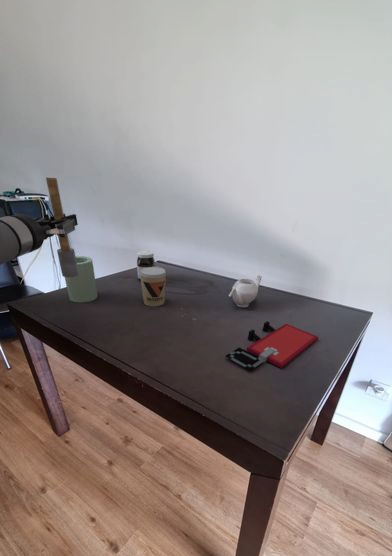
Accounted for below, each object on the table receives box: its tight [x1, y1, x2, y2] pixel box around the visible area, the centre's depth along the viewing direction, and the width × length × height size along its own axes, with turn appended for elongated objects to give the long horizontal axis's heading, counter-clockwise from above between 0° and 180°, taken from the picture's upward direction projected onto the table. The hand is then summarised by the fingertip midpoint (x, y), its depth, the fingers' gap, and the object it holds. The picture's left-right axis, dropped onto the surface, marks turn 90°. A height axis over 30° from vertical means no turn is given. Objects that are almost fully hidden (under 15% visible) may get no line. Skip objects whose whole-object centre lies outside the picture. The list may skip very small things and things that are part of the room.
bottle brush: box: [45, 176, 79, 278], centre depth 75 cm, size 4×4×24 cm
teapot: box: [228, 275, 262, 308], centre depth 106 cm, size 10×20×9 cm, turn 138°
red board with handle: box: [225, 320, 319, 371], centre depth 82 cm, size 30×3×15 cm
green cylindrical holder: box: [64, 255, 99, 304], centre depth 104 cm, size 10×10×14 cm
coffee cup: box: [140, 266, 167, 307], centre depth 103 cm, size 9×9×12 cm
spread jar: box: [136, 250, 161, 282], centre depth 124 cm, size 12×11×12 cm
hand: (70, 219), depth 79 cm, fingers closed on bottle brush, 2 cm apart
